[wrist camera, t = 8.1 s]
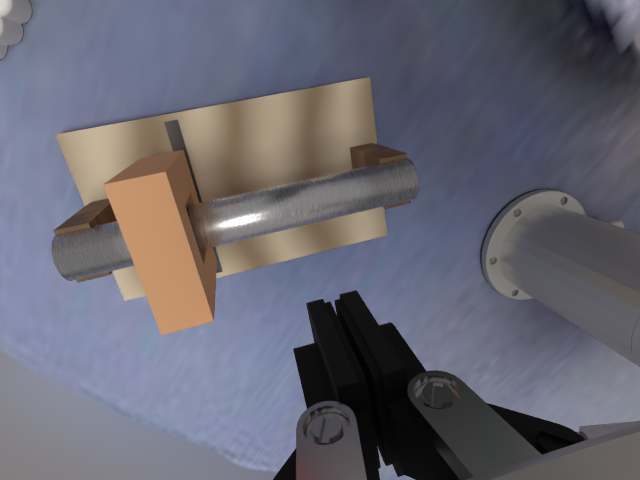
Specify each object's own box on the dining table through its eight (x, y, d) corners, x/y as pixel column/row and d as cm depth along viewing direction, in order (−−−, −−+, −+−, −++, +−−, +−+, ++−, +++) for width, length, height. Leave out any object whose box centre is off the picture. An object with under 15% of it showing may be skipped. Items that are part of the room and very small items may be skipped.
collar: (183, 149, 27) (165, 171, 19) (216, 261, 31) (213, 321, 23) (140, 158, 27) (102, 184, 19) (179, 271, 30) (161, 335, 22)
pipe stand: (364, 77, 32) (407, 71, 25) (381, 230, 38) (421, 264, 30) (63, 132, 29) (3, 145, 21) (128, 293, 34) (100, 350, 26)
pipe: (397, 153, 28) (417, 159, 25) (401, 195, 29) (420, 205, 26) (65, 225, 25) (43, 242, 22) (84, 269, 26) (67, 291, 23)
